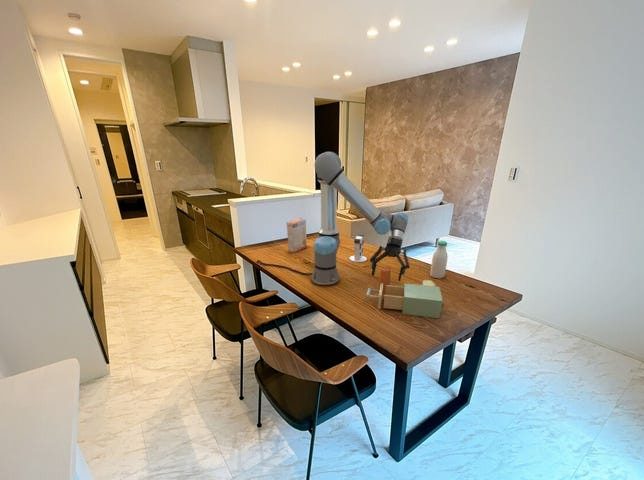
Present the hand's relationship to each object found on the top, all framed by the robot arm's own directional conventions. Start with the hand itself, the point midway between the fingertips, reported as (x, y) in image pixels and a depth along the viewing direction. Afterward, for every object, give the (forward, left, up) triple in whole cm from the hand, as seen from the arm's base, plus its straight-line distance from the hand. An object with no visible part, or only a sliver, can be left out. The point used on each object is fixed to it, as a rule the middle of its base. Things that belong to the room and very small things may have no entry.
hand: (385, 277), depth 149 cm
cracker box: (-63, +50, -7) cm, 81 cm away
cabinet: (+17, -14, -7) cm, 23 cm away
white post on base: (-19, +41, -7) cm, 46 cm away
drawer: (+2, -14, -6) cm, 16 cm away
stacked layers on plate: (+21, +2, -7) cm, 22 cm away
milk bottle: (+28, +25, -7) cm, 38 cm away
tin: (0, 0, -7) cm, 7 cm away
